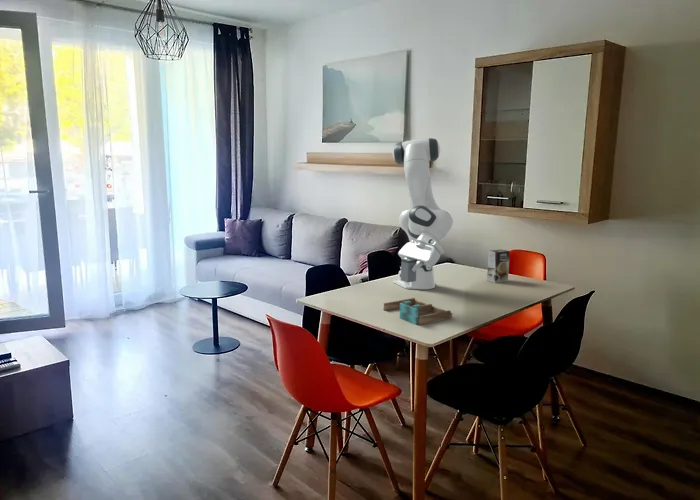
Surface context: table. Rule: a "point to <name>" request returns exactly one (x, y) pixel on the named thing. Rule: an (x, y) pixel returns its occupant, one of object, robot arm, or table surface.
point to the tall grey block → (408, 270)
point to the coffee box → (498, 266)
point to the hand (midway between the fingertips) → (407, 269)
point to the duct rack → (417, 311)
